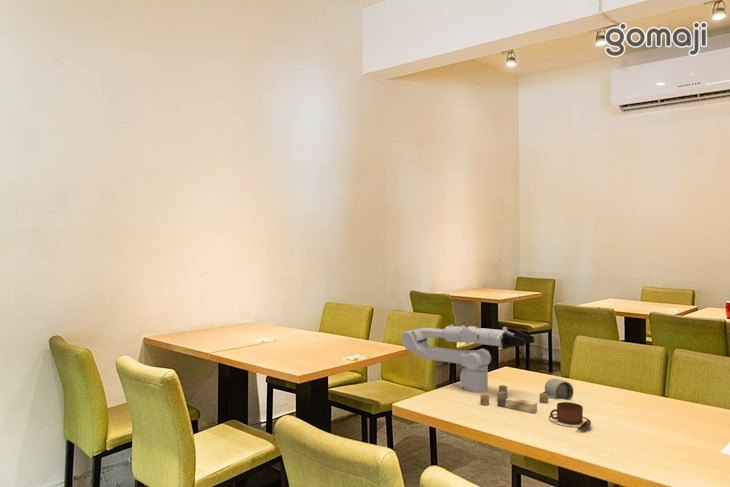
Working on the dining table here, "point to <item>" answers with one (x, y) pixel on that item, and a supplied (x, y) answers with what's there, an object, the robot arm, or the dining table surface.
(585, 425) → the cup and saucer
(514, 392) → the dining table surface
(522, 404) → the leg bar
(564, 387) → the ceramic mug
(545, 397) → the small brown blocks set
